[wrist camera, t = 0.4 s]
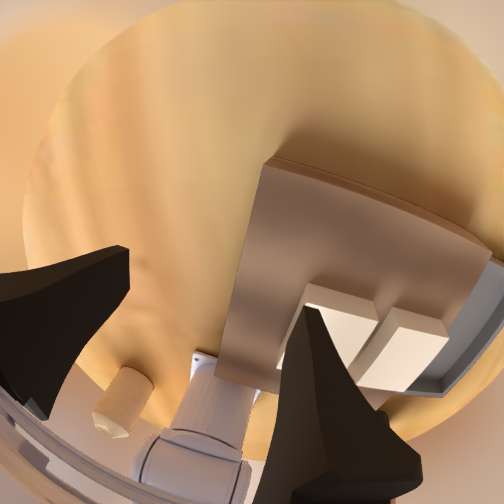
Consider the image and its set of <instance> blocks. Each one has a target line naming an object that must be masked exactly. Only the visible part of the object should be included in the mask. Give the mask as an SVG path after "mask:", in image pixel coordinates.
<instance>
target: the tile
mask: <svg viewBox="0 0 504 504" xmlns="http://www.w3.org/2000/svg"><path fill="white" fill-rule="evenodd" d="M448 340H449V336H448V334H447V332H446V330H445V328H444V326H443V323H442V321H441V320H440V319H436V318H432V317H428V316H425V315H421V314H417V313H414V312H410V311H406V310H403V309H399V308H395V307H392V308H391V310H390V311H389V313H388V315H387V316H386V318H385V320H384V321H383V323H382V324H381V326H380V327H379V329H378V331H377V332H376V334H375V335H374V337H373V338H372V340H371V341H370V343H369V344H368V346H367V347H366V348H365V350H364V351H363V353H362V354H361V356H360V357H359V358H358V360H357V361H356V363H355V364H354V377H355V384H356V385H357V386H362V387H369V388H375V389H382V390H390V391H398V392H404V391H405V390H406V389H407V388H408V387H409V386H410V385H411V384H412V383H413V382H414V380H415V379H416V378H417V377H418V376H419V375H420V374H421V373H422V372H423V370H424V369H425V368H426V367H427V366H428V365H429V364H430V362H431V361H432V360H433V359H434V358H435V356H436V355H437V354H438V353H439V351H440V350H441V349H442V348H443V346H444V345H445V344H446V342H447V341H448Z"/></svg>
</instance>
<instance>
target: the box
mask: <svg viewBox="0 0 504 504" xmlns="http://www.w3.org/2000/svg"><path fill="white" fill-rule="evenodd" d="M503 326H504V262H503V261H501V260H499V259H497V258H495V257H493V256H492V255H491V257H490V259H489V261H488V263H487V265H486V267H485V269H484V271H483V273H482V275H481V277H480V278H479V280H478V282H477V284H476V285H475V287H474V289H473V291H472V292H471V294H470V296H469V297H468V299H467V300H466V302H465V304H464V305H463V307H462V308H461V310H460V311H459V313H458V314H457V316H456V317H455V319H454V320H453V322H452V323H451V325H450V326H449V328H448V329H447V330H446V332H447V334H448V336H449V340H448V341H447V342H446V344H445V345H444V346H443V348H442V349H441V350H440V351H439V353H438V354H437V355H436V356H435V358H434V359H433V360H432V361H431V362H430V364H429V365H428V366H427V367H426V368H425V369H424V370H423V372H422V373H421V374H420V375H419V376H418V377H417V378H416V379H415V380H414V382H413V383H412V384H411V385H410V386H409V387H408V388H407V389H406V390H405V391H404V392H398V391H396V392H395V393H394V394H401V395H411V396H423V397H438V398H443V397H444V396H445V395H446V394H447V393H448V392H449V391H450V390H451V389H452V388H453V387H454V386H455V385H456V384H457V382H458V381H459V380H460V379H461V378H462V377H463V376H464V375H465V374H466V373H467V372H468V371H469V369H470V368H471V367H472V366H473V365H474V364H475V363H476V361H477V360H478V359H479V358H480V357H481V355H482V354H483V353H484V352H485V350H486V349H487V348H488V347H489V345H490V344H491V343H492V341H493V340H494V339H495V337H496V336H497V335H498V333H499V332H500V331H501V329H502V328H503Z"/></svg>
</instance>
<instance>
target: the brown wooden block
mask: <svg viewBox="0 0 504 504" xmlns="http://www.w3.org/2000/svg"><path fill="white" fill-rule="evenodd" d="M492 253H493V252H492V251H491V250H490V249H489V248H487V247H486V246H485V245H484V244H483V243H482V242H481V241H480V240H479V239H478V238H476V237H475V236H474V235H473V234H472V233H471V232H470V231H468V230H467V229H465V228H463V227H461V226H459V225H457V224H455V223H453V222H451V221H449V220H447V219H445V218H443V217H440V216H438V215H436V214H434V213H432V212H430V211H427V210H425V209H423V208H421V207H418V206H416V205H414V204H411V203H409V202H407V201H404V200H402V199H399V198H397V197H394V196H392V195H389V194H387V193H384V192H382V191H379V190H376V189H374V188H371V187H368V186H366V185H363V184H360V183H357V182H355V181H352V180H349V179H346V178H343V177H340V176H337V175H334V174H331V173H328V172H325V171H322V170H319V169H315V168H312V167H309V166H306V165H302V164H299V163H295V162H292V161H288V160H285V159H281V158H277V157H274V156H272V157H271V158H270V159H269V160H268V161H267V162H266V163H264V164H263V168H262V172H261V176H260V180H259V184H258V188H257V192H256V196H255V200H254V204H253V209H252V213H251V217H250V221H249V225H248V229H247V234H246V238H245V242H244V246H243V250H242V255H241V259H240V263H239V267H238V272H237V276H236V280H235V284H234V289H233V293H232V297H231V302H230V306H229V310H228V314H227V319H226V323H225V328H224V332H223V336H222V341H221V345H220V349H219V354H218V358H217V363H216V367H215V372H214V376H215V377H218V378H221V379H224V380H227V381H231V382H234V383H237V384H241V385H244V386H248V387H251V388H255V389H259V390H262V391H266V392H270V393H274V394H278V395H279V391H280V380H281V369H277V368H276V367H277V361H278V355H279V349H280V346H281V344H282V342H283V340H284V337H285V335H286V333H287V330H288V328H289V326H290V324H291V321H292V319H293V317H294V314H295V312H296V310H297V307H298V305H299V302H300V300H301V298H302V295H303V293H304V290H305V288H306V285H307V283H311V284H314V285H318V286H321V287H325V288H328V289H331V290H335V291H338V292H342V293H345V294H349V295H353V296H356V297H360V298H363V299H367V300H370V301H373V302H374V306H375V310H376V313H377V317H378V321H379V322H378V323H377V325H376V327H375V328H374V330H373V331H372V333H371V334H370V336H369V337H368V339H367V340H366V342H365V343H364V345H363V346H362V348H361V349H360V351H359V352H358V354H357V355H356V357H355V358H354V359H353V361H352V362H351V364H350V365H349V366H348V368H347V370H348V372H349V374H350V376H351V377H352V379H353V380H354V382H355V377H354V364H355V363H356V361H357V360H358V358H359V357H360V356H361V354H362V353H363V351H364V350H365V348H366V347H367V346H368V344H369V343H370V341H371V340H372V338H373V337H374V335H375V334H376V332H377V331H378V329H379V327H380V326H381V324H382V323H383V321H384V320H385V318H386V316H387V315H388V313H389V311H390V310H391V308H392V307H395V308H399V309H403V310H406V311H410V312H414V313H417V314H421V315H425V316H428V317H432V318H436V319H440V320H441V321H442V323H443V326H444V328H445V330H447V329H448V328H449V326H450V325H451V323H452V322H453V320H454V319H455V317H456V316H457V314H458V313H459V311H460V310H461V308H462V307H463V305H464V304H465V302H466V300H467V299H468V297H469V296H470V294H471V292H472V291H473V289H474V287H475V285H476V284H477V282H478V280H479V278H480V277H481V275H482V273H483V271H484V269H485V267H486V265H487V263H488V261H489V259H490V257H491V255H492ZM357 387H358V388H359V390H360V391H361V393H362V394H363V395H364V397H365V398H366V400H367V401H368V402H369V404H370V405H371V406H372V407H373V409H374V410H375V411H376V410H377V409H378V408H379V407H381V406H382V405H383V404H384V403H385V402H386V401H387V400H388V399H389V398H390V397H391V396H392V395H393V394H394V393H395V392H396V391H390V390H382V389H375V388H369V387H362V386H357Z"/></svg>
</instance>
